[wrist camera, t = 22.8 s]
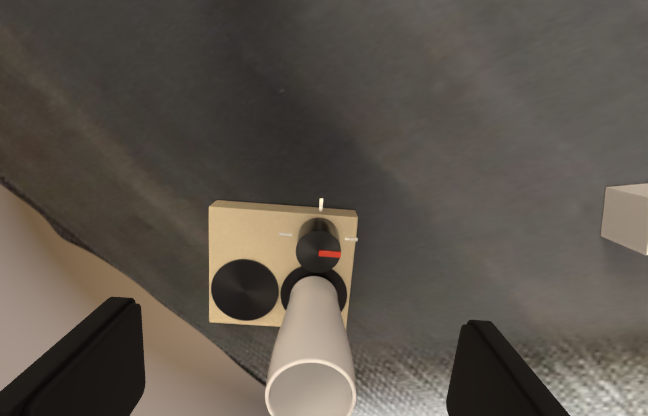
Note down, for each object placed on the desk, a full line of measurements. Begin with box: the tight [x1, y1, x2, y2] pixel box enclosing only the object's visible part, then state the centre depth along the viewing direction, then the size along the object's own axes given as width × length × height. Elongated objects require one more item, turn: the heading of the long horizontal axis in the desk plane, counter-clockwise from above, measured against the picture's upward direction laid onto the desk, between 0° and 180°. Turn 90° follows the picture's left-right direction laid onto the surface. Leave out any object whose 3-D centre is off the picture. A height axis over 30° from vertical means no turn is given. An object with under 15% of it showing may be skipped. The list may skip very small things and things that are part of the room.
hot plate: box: [209, 198, 358, 330], centre depth 40 cm, size 16×16×3 cm
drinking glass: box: [265, 276, 356, 416], centre depth 32 cm, size 7×7×15 cm
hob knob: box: [296, 218, 341, 273], centre depth 36 cm, size 4×4×5 cm
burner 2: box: [280, 266, 347, 312], centre depth 40 cm, size 8×8×1 cm
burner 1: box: [211, 259, 279, 321], centre depth 39 cm, size 8×8×1 cm
